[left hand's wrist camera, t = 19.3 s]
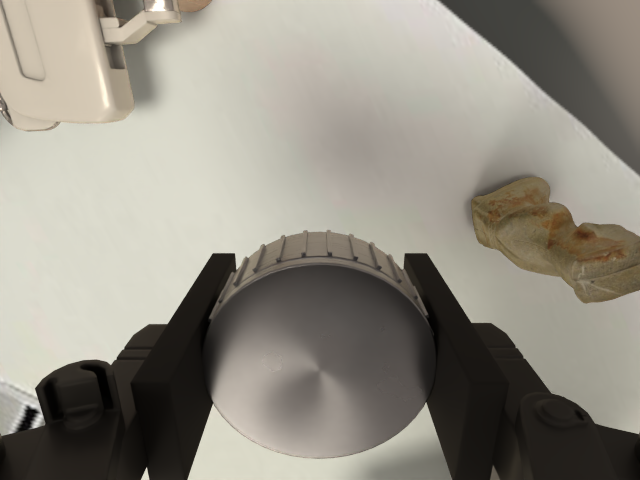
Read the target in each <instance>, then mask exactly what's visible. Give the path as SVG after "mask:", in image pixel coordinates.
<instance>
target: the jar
mask: <svg viewBox="0 0 640 480" xmlns="http://www.w3.org/2000/svg"><path fill="white" fill-rule="evenodd" d="M211 1H212V0H178V2H179V8H180V11H184V12H194V11H198V10H201V9H203V8H204V7H206V6H207V5H208V4H209V3H210V2H211Z"/></svg>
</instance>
